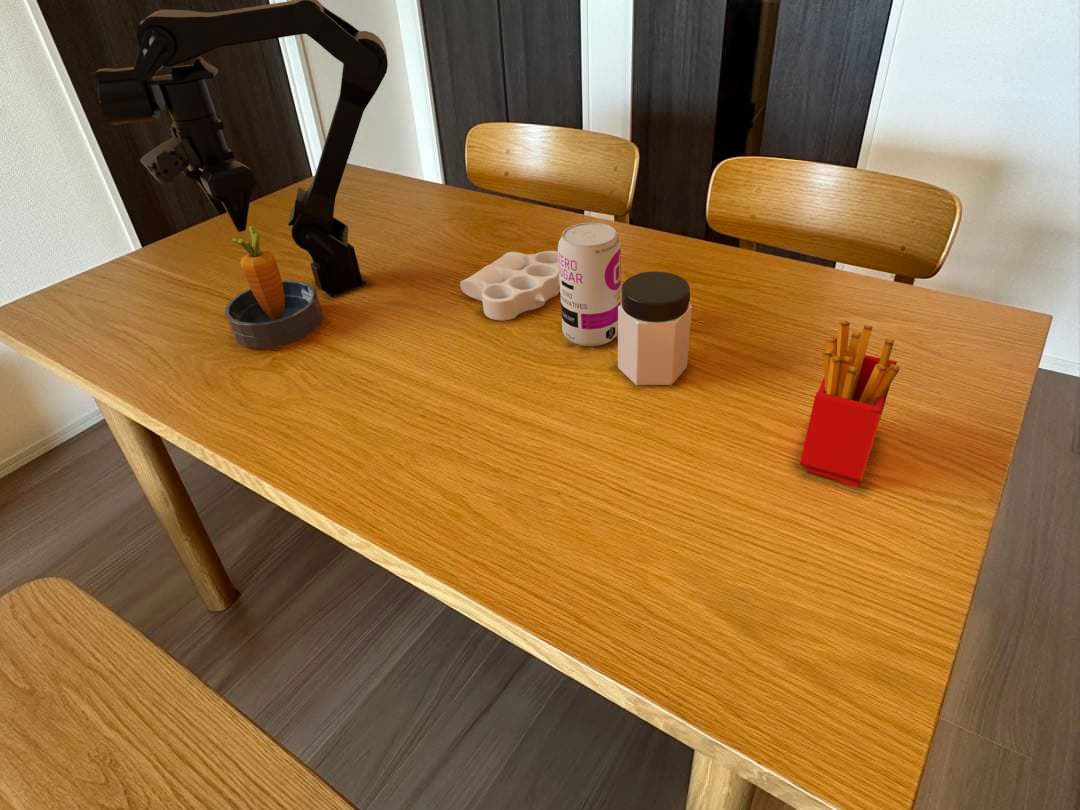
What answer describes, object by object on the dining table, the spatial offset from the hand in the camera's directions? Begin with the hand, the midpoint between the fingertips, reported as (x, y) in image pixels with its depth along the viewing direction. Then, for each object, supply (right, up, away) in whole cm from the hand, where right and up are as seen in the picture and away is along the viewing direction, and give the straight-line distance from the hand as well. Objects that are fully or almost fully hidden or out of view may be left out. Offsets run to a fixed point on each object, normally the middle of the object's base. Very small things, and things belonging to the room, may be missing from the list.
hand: (231, 222), depth 106 cm
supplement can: (+54, -18, -7) cm, 58 cm away
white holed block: (+44, -10, +4) cm, 45 cm away
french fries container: (+79, -33, -30) cm, 91 cm away
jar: (+62, -23, -15) cm, 68 cm away
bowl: (+7, -16, 0) cm, 18 cm away
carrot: (+7, -16, 0) cm, 17 cm away
